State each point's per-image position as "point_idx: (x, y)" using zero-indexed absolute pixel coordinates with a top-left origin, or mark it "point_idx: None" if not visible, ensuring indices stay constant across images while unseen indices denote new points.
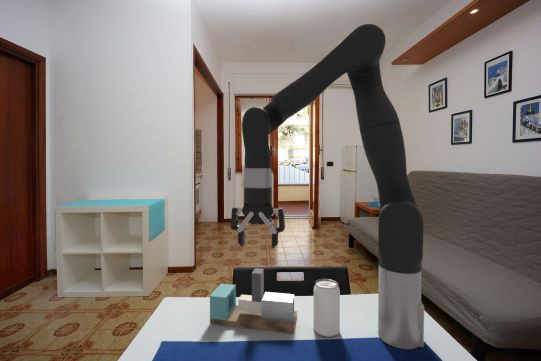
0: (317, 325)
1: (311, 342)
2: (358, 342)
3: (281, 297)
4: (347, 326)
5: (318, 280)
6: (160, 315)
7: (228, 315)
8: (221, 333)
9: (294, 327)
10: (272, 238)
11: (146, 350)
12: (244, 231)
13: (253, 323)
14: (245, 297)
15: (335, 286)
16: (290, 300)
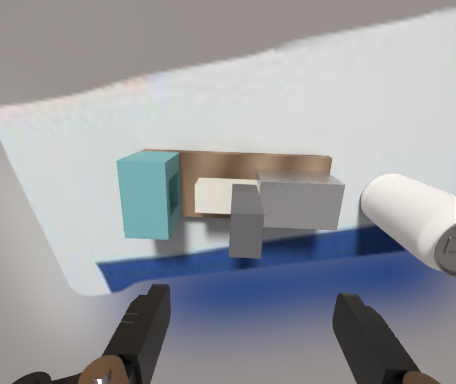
0: (373, 222)
1: (348, 236)
2: None
3: (308, 207)
4: (435, 178)
5: (452, 228)
6: (33, 193)
7: (180, 204)
8: (184, 233)
9: None
10: (361, 382)
11: (90, 284)
12: (139, 362)
13: None
14: (209, 199)
15: None
16: (332, 220)
